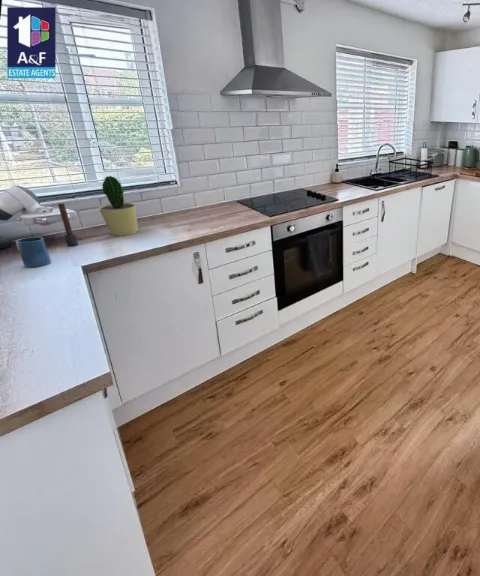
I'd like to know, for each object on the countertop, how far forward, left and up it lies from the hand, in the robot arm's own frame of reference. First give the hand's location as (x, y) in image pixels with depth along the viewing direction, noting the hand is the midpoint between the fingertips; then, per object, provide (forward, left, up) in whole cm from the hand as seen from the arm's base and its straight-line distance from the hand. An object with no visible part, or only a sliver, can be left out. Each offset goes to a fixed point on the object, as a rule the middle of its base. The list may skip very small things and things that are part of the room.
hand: (57, 219), depth 167 cm
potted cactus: (+24, +9, -12) cm, 28 cm away
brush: (+4, -6, -12) cm, 14 cm away
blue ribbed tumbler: (-5, -29, -12) cm, 32 cm away
